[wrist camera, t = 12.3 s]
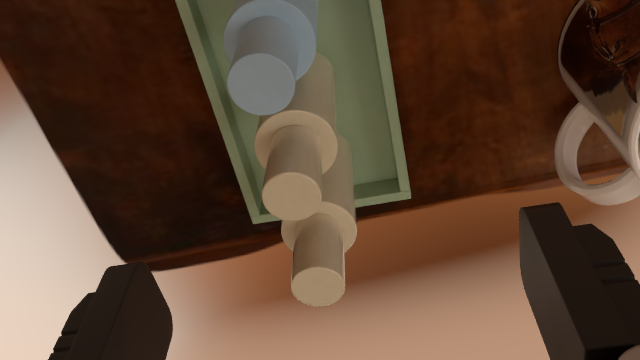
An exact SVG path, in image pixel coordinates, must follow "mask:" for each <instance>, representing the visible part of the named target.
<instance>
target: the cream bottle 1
mask: <svg viewBox="0 0 640 360" xmlns="http://www.w3.org/2000/svg"><path fill="white" fill-rule="evenodd" d="M254 150H255V154H256V157H257V159H258V161H259V162H260V164H261V165H262V167H263V168H264V169H265V175H264V181H263V187H262V195H261V196H262V202H263V204H264V206H265V208H266V209H267V210H268V211H269V212H270V213H271V214H272V215H273V216H275V217H277V218H279V219H282V220H286V221H299V220H303V219H306V218H308V217H310V216H311V215H313V214H314V213H315V212H316V211H317V210H318V208H319V206H320V204H321V201H322V174H324V173H325V172H326V171H327V170H328V169H329V168H330V167H331V166H332V164H333V163H334V161H335V159H336V156H337V151H338V133H337V97H336V75H335V71H334V68H333V66H332V64H331V63H330V61H329V60H328V59H327V58H326V57H325V56H324V55H322V54H321V53H319V52H317V51H316V54H315V57H314V60H313V62H312V64H311V66H310V68H309V69H308V71H307V72H306V73H305V74H304V75H303V76H302V77H301V78H299V79H298V80H296V84H295V92H294V96H293V98H292V100H291V102H290V103H289V104H288V105H287V106H286V107H285V108H284V109H283V110H281V111H279V112H277V113H275V114H272V115H266V116H261V115H259V120H258V125H257V130H256V135H255V140H254Z"/></svg>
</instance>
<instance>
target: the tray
mask: <svg viewBox="0 0 640 360" xmlns="http://www.w3.org/2000/svg"><path fill="white" fill-rule="evenodd" d="M175 2H176V4H177V7H178V10H179V13H180V16H181V19H182V22H183V25H184V27H185V30H186V33H187V36H188V39H189V42H190V45H191V47H192V50H193V53H194V56H195V59H196V62H197V65H198V68H199V70H200V73H201V76H202V79H203V82H204V85H205V88H206V90H207V93H208V96H209V99H210V102H211V105H212V108H213V110H214V113H215V116H216V119H217V122H218V125H219V128H220V131H221V133H222V136H223V139H224V142H225V145H226V148H227V151H228V153H229V156H230V159H231V162H232V165H233V168H234V171H235V174H236V176H237V179H238V182H239V185H240V188H241V191H242V194H243V196H244V199H245V202H246V205H247V208H248V211H249V214H250V216H251V219H252V222H253V224H257V223H263V222H270V221H276V220H282V219H279V218H277V217H275V216H273V215H272V214H271V213H270V212H269V211H268V210H267V209H266V208H265V206H264V204H263V202H262V196H261V195H262V187H263V181H264V175H265V169H264V168H263V167H262V165H261V164H260V162H259V161H258V159H257V157H256V154H255V150H254V140H255V135H256V130H257V125H258V120H259V115H254V114H251V113H248V112H246V111H244V110H243V109H241V108H240V107H239V106H237V105H236V104H235V102H234V101H233V100H232V98H231V96H230V94H229V92H228V88H227V76H228V73H229V70H230V67H231V64H230V63H229V61H228V59H227V57H226V54H225V50H224V44H223V36H224V30H225V27H226V24H227V22H228V19H229V17H230V14H231V12H232V9H233V7H234V5H235V2H236V0H175ZM316 51H317V52H319V53H321V54H322V55H324V56H325V57H326V58H327V59H328V60H329V61H330V63H331V64H332V66H333V68H334V71H335V75H336V97H337V132H338V133H339V134H341V135H342V136H343V137H344V138H345V139H346V140H347V141H348V143H349V145H350V147H351V150H352V159H353V175H354V190H355V205H356V207H361V206H368V205H374V204H380V203H386V202H392V201H398V200H404V199H410V198H411V191H410V185H409V178H408V172H407V165H406V159H405V153H404V146H403V140H402V133H401V127H400V121H399V114H398V108H397V101H396V95H395V89H394V82H393V76H392V69H391V63H390V56H389V50H388V44H387V37H386V31H385V24H384V18H383V12H382V5H381V0H318V22H317V46H316Z"/></svg>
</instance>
